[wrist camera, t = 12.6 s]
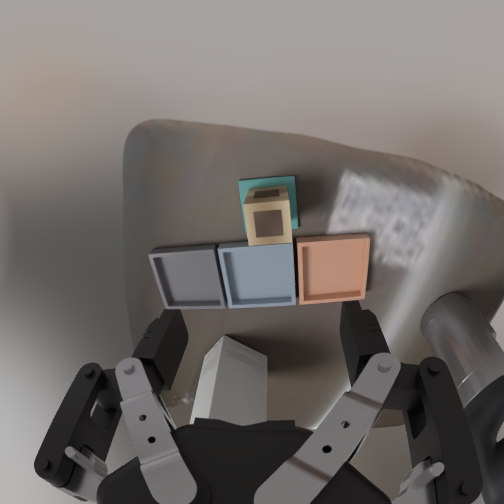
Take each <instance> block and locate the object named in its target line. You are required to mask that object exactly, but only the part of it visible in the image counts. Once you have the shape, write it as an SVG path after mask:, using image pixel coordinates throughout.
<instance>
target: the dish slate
mask: <svg viewBox="0 0 504 504" xmlns="http://www.w3.org/2000/svg"><path fill="white" fill-rule="evenodd" d="M218 254H219V259H220V264H221V269H222V275H223V280H224V285H225V290H226V295H227V299H228V304H229V308H249V307H269V306H286V305H296V298H295V275H294V256H293V241H292V243H280V244H267V245H254V246H249V244H248V241H245V242H232V243H220V244H219V247H218Z"/></svg>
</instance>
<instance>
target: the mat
mask: <svg viewBox="0 0 504 504" xmlns="http://www.w3.org/2000/svg"><path fill="white" fill-rule="evenodd" d="M238 183H239V191H240V198H241V205H242V212H243V220H244V227H245V233H247V229H246V222H245V215H244V208H243V203H244V201H245V198H246V195H247V193H248V190H249V188H260V187H271V186H283V185H286V186H287V191H288V197H289V204H290V217H291V229H298V218H297V202H296V189H295V176H281V177H269V178H258V179H248V180H239V181H238Z"/></svg>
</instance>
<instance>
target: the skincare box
mask: <svg viewBox="0 0 504 504" xmlns="http://www.w3.org/2000/svg"><path fill="white" fill-rule="evenodd" d="M195 417H197V418H208V419H219V420H222V421H226V422H229V423H233V424H237V425H241V426H246V425H251V424H256V423H261V422H266V418H267V356H265V355H263V354H261V353H259V352H257V351H255V350H253V349H251V348H249V347H247V346H245V345H243V344H241V343H239V342H237V341H235V340H233V339H231V338H229V337H227V336H226V335H224V336H223V337H222V338H221V339H220V340H219V341H218V342H217V343H216V344H215V345H214V346H213V347H212V349H211V350H210V351H209V352H208V353H207V354H206V355H205V358H204V363H203V367H202V371H201V375H200V380H199V384H198V388H197V393H196V397H195V402H194V407H193V411H192V415H191V420H190V424H194V420H195Z"/></svg>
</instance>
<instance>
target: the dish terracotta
mask: <svg viewBox="0 0 504 504" xmlns="http://www.w3.org/2000/svg"><path fill="white" fill-rule="evenodd" d="M296 241H297V260H298V283H299V302H300V305H301V304H314V303H326V302H337V301H348V300H358V299H364V298H365V290H366V281H367V272H368V261H369V248H370V237H369V236H368V234H367V233H356V234H341V235H327V236H312V237H298V238H296Z"/></svg>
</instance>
